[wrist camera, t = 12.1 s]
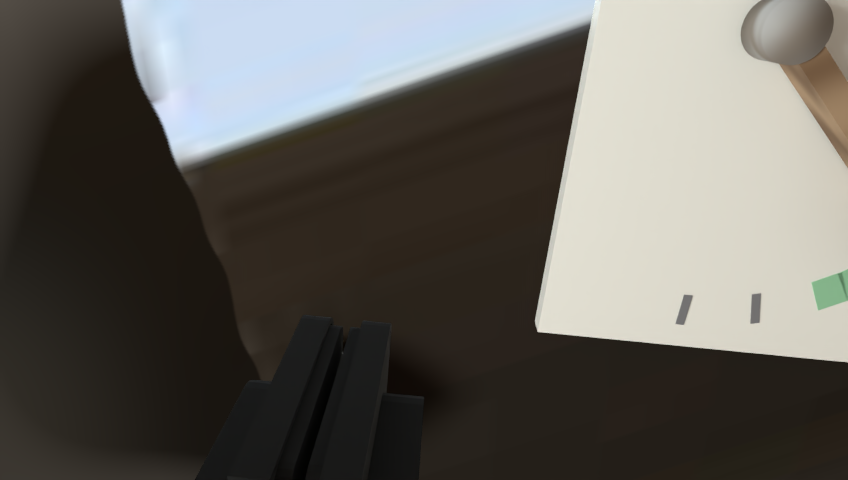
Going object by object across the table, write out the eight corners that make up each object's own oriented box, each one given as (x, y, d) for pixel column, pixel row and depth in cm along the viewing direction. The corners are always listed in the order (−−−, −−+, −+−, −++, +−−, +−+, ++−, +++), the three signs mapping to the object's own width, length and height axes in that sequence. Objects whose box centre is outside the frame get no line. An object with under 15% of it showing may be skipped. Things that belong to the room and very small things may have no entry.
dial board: (603, -44, 34) (610, -46, 32) (1062, -1, 34) (1089, -1, 32) (534, 321, 44) (537, 332, 42) (889, 356, 43) (904, 368, 42)
